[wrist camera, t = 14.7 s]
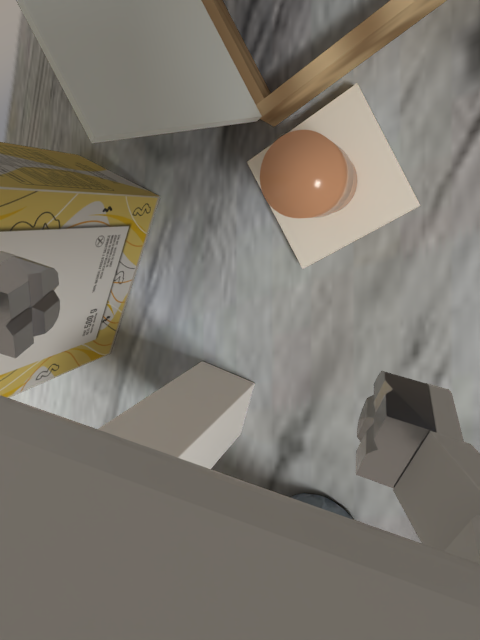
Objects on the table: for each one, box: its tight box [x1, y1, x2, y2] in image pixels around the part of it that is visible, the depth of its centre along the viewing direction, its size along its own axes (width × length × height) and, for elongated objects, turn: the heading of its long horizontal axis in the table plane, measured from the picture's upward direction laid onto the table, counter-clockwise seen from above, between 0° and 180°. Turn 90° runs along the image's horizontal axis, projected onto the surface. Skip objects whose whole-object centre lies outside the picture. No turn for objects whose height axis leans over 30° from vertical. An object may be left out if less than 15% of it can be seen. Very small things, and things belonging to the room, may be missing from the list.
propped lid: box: [16, 0, 262, 143], centre depth 29 cm, size 6×15×13 cm, turn 31°
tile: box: [247, 84, 421, 269], centre depth 35 cm, size 10×10×2 cm
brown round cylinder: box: [260, 130, 358, 218], centre depth 30 cm, size 5×5×8 cm
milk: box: [98, 361, 255, 469], centre depth 34 cm, size 6×6×22 cm
